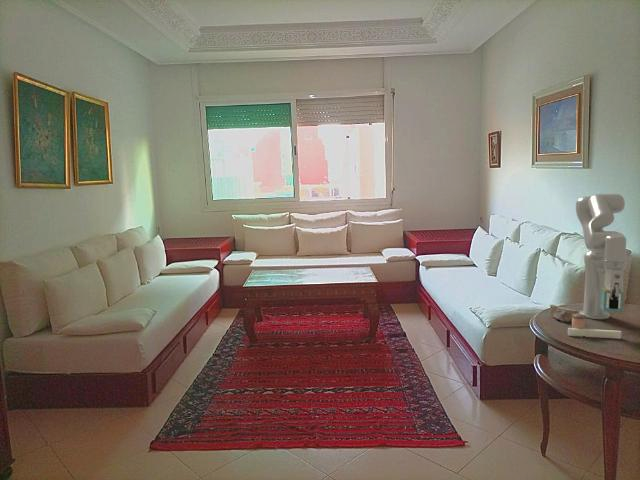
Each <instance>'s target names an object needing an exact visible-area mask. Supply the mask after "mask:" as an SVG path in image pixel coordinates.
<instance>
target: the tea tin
mask: <svg viewBox="0 0 640 480" xmlns="http://www.w3.org/2000/svg"><path fill="white" fill-rule="evenodd" d="M613 292H615V291H613ZM624 293H625V290H624V289H623V293H620V290H619V302H618V309H610V308H609V302H610V299H611V292H609V290H608V289H607V288H606V287H601V304H600V308H601V309H602V310H603V311H606V312H608V313H609V312H610V313H611V312H613V313H623V307H624V306H623V305H624ZM613 295H614V294H613Z"/></svg>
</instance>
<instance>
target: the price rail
mask: <svg viewBox="0 0 640 480" xmlns="http://www.w3.org/2000/svg"><path fill="white" fill-rule="evenodd" d="M567 336H570V337H583V336H585V337H584V338H587V337H588V338H600V339H601V338H605V339H616V340H617V339H622V331H621V330H615V329H613V330H611V329H610V330H609V329H594V328H593V329H592V328H585V329H578V328H572V327H567Z"/></svg>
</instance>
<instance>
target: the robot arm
mask: <svg viewBox="0 0 640 480" xmlns="http://www.w3.org/2000/svg"><path fill="white" fill-rule="evenodd" d="M624 208H625V199H624V197H623V196H622V194H619V193H599V194H598V193H596V194H594V195H591V196H584V197H580V198H578V199H577V201H575V212H576V217H577V219H578V221H579V222H580V225H581V226H582V231H583V232H582V234H583V238H584V244H585V247H586V249H588V251H586V253H585V254H584V258H583V261H584V262H583V263H584V270H585V273H584V277H585V278H584V295H583V308H582V309H581V310H579V314H583V315H585V316H586V318H587V319H591V320H607V319H610V316H611V314H610V313H609V312H608V311H603V310H602V309H601V308H600V304H601V287H606V288H607V289H608V290H609V292H611V299H610V302H609V308H610V309H618V302H619V290H620V293H623V290H624V271H625V270H626V269H627V268H628V264H629V263H628V255H627V250H626V249H627V238H626V236H625V235H624V234H623V233H622V232H619V231H616V230H615V231H614V230H613V231H612V230H611V231H610V230H604V228H606V227H608V226H610V225H612V223H613V222H614V221H615V215H614V214H618V213H621V212H622V211H624ZM603 272H604V273H603ZM613 291H615V292H613ZM613 294H614V295H613ZM623 294H624V293H623ZM586 318H585V319H586Z"/></svg>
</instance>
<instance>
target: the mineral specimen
mask: <svg viewBox="0 0 640 480" xmlns="http://www.w3.org/2000/svg"><path fill="white" fill-rule="evenodd" d="M549 305H550V306H549V309H550V310H549V311H550V315H551V316H552V317H553V318H554V319H556V320H559V321H560V322H564V323H565V322H568V323H569V322H571V323H572V314H576V313H577V314H579V312H578V311H577V310H575V309H572V308H566V307H560V306H558V305H555V304H549Z"/></svg>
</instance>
